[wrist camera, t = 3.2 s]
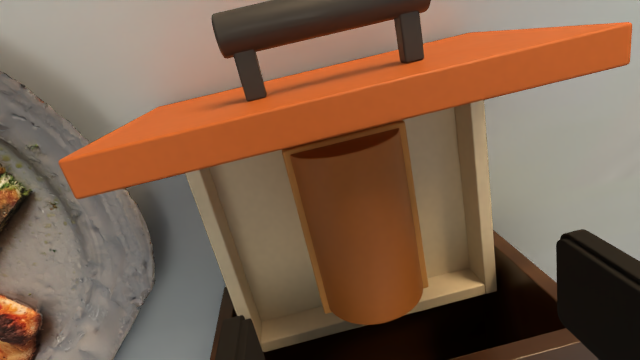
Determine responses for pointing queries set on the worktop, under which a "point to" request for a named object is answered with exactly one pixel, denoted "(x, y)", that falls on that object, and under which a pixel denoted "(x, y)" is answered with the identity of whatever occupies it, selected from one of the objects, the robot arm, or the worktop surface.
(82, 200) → the food plate
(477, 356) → the cabinet
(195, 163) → the drawer
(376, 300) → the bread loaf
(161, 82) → the worktop surface
